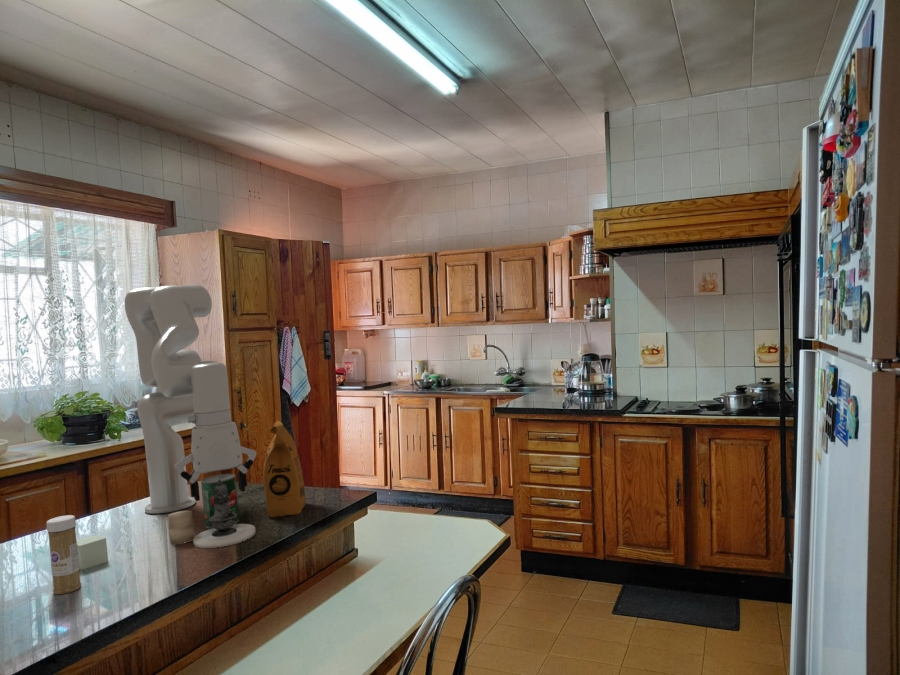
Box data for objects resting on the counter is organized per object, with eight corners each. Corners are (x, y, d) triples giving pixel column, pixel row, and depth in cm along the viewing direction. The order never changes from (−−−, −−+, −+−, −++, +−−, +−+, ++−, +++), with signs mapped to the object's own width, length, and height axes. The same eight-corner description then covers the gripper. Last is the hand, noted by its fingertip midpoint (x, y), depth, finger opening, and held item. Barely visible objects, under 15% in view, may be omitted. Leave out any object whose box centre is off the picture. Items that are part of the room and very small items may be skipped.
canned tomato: (225, 528, 148) (220, 482, 148) (197, 528, 150) (193, 482, 150) (246, 518, 155) (242, 473, 155) (219, 517, 158) (215, 473, 158)
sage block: (72, 566, 131) (70, 542, 131) (98, 557, 135) (95, 534, 135) (82, 570, 128) (79, 545, 128) (108, 561, 132) (105, 538, 132)
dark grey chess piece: (210, 531, 142) (205, 478, 142) (237, 526, 145) (232, 474, 144) (210, 539, 137) (205, 484, 137) (238, 533, 139) (233, 479, 139)
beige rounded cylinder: (168, 540, 143) (166, 514, 142) (192, 535, 145) (189, 509, 145) (171, 546, 138) (169, 519, 138) (196, 540, 141) (193, 513, 141)
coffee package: (261, 520, 152) (252, 429, 152) (269, 506, 164) (261, 422, 164) (303, 515, 153) (294, 424, 153) (308, 501, 166) (300, 418, 165)
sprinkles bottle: (47, 596, 115) (40, 522, 115) (63, 585, 120) (56, 515, 120) (72, 594, 115) (65, 520, 115) (87, 583, 120) (80, 513, 119)
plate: (189, 538, 143) (188, 533, 143) (247, 524, 150) (247, 519, 150) (199, 553, 132) (198, 547, 132) (262, 537, 138) (261, 532, 138)
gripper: (173, 426, 133) (180, 507, 133) (256, 414, 142) (263, 490, 142) (168, 422, 139) (175, 499, 140) (248, 411, 148) (254, 483, 149)
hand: (219, 494), depth 141 cm, fingers open, 9 cm apart
